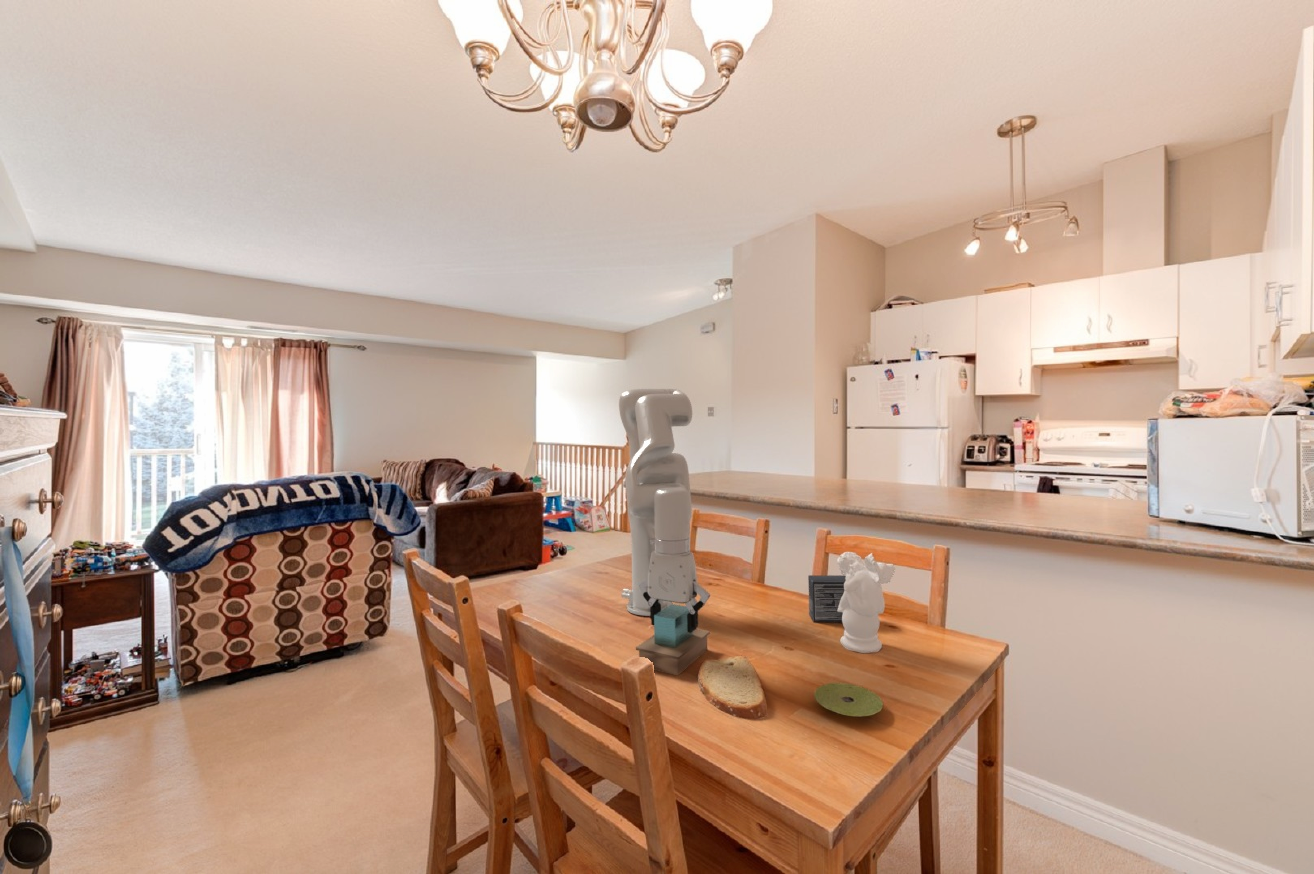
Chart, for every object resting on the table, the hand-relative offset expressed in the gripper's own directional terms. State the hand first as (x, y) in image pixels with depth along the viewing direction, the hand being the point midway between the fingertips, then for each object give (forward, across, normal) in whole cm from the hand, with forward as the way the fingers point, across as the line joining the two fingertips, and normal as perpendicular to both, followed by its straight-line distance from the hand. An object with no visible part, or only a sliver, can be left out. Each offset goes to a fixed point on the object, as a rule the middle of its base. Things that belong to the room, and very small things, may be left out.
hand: (673, 626), depth 115 cm
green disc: (+7, +36, -4) cm, 37 cm away
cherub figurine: (+7, +36, +26) cm, 45 cm away
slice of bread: (+7, +16, -6) cm, 19 cm away
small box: (+7, +24, +39) cm, 47 cm away
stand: (+7, 0, 0) cm, 7 cm away
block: (+3, 0, 0) cm, 3 cm away
